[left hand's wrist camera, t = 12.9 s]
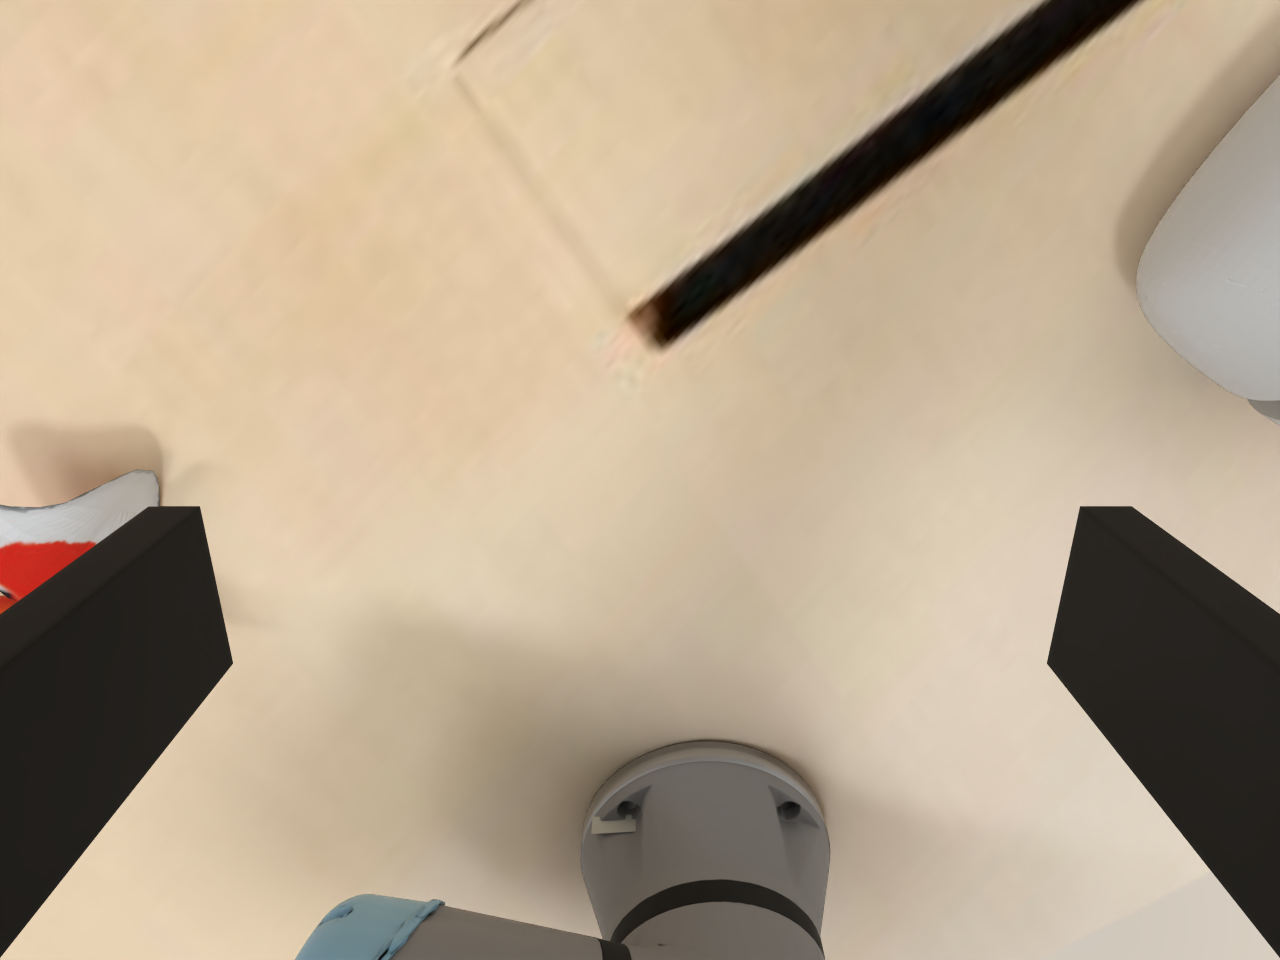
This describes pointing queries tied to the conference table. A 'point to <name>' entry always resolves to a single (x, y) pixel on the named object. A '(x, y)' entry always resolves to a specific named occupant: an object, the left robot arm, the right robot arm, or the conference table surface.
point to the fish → (65, 531)
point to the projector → (1224, 262)
